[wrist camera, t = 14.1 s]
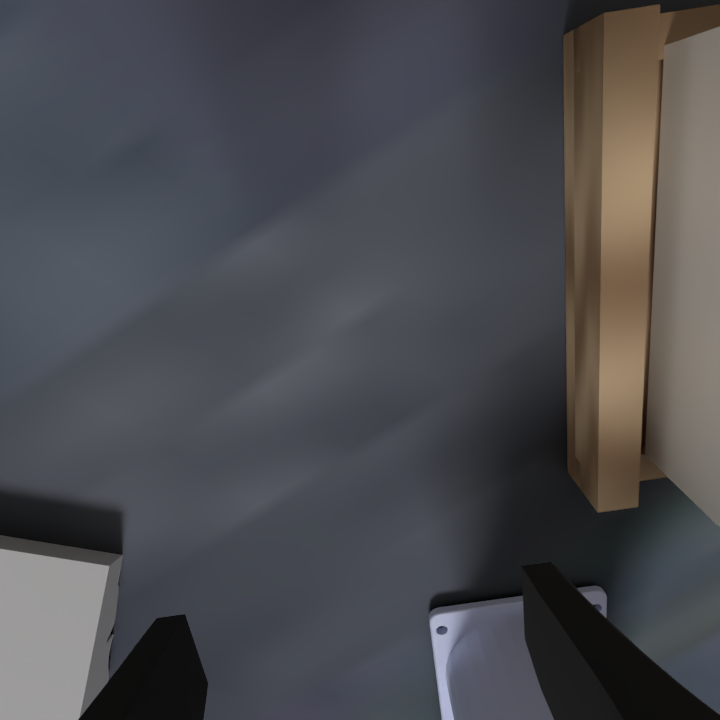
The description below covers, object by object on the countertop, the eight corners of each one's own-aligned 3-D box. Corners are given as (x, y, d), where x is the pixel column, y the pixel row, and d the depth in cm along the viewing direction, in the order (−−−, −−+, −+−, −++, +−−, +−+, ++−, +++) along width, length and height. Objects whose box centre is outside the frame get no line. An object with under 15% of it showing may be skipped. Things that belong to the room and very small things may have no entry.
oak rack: (783, 440, 23) (842, 477, 20) (567, 471, 23) (597, 512, 20) (850, -9, 17) (944, -40, 14) (563, 35, 17) (604, 12, 14)
